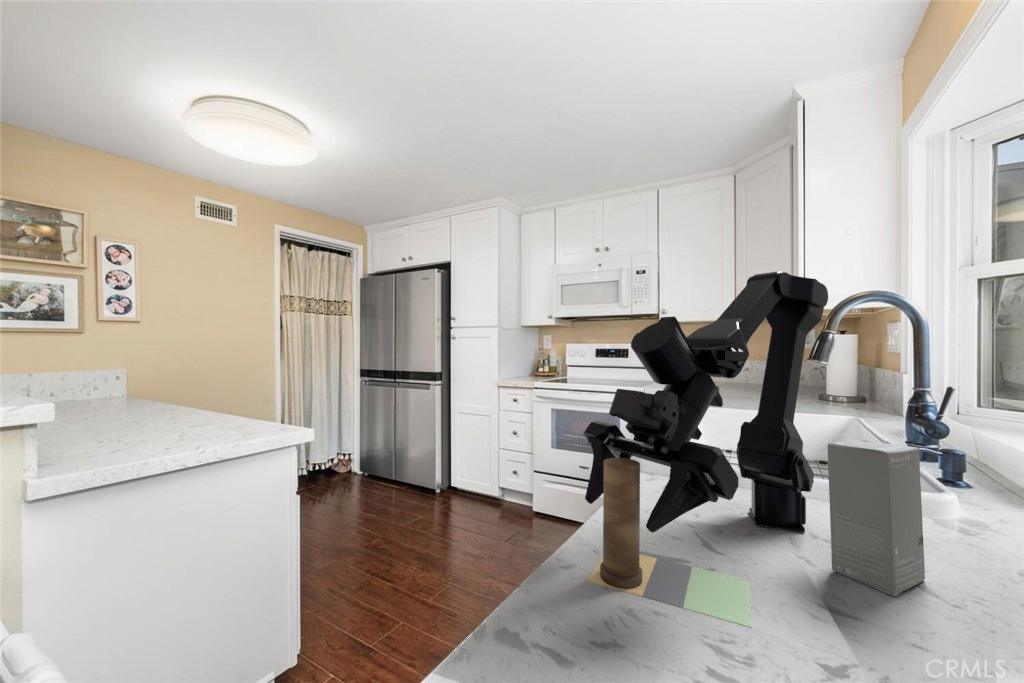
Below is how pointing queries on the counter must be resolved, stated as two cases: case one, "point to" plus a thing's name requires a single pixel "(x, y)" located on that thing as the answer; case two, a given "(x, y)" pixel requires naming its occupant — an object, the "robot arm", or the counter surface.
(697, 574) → the striped board
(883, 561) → the skincare box
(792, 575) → the counter surface
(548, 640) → the counter surface
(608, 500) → the walnut peg
